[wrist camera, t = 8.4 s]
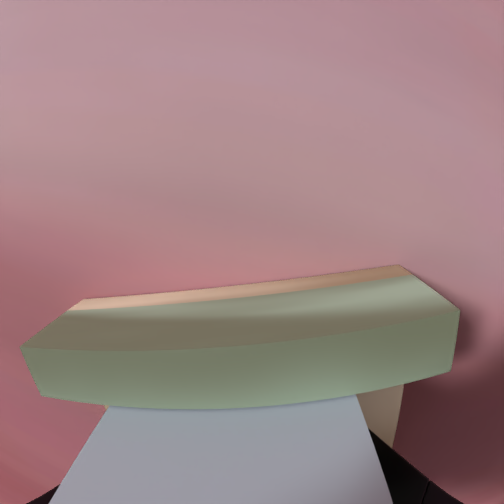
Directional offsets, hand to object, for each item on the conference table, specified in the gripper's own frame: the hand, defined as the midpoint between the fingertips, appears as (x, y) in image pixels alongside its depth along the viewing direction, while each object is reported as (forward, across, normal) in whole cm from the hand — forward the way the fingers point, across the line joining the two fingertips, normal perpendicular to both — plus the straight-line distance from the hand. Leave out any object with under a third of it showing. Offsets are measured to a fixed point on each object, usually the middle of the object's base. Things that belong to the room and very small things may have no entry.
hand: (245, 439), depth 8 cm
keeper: (+1, 0, 0) cm, 1 cm away
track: (+2, 0, +9) cm, 9 cm away
